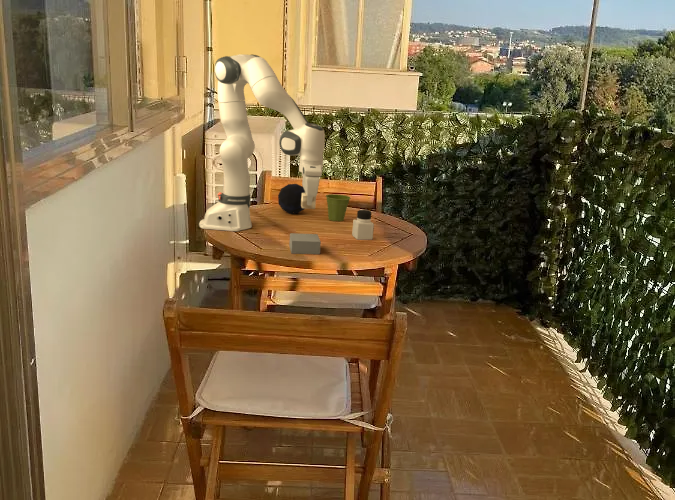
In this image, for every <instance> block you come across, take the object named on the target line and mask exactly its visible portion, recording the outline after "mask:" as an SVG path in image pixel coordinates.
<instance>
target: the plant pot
mask: <svg viewBox="0 0 675 500" xmlns="http://www.w3.org/2000/svg"><path fill="white" fill-rule="evenodd" d="M325 197H326V202H327V216H328V220H329V221H332V222H343V221H345V216H346V212H347V208H348V206H349V203H350V200H351V198H352V197H350V196H348V195H344V194H338V193H337V194H336V193H335V194H333V193H330V194H329V193H328V194H325Z"/></svg>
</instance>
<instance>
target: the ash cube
mask: <svg viewBox="0 0 675 500" xmlns="http://www.w3.org/2000/svg"><path fill="white" fill-rule="evenodd" d="M316 203H317V196H316V197H313V199H312V205H307V194H306V193H302V197H301V207H302V208H304V210H307V209H309V210H316Z"/></svg>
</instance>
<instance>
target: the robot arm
mask: <svg viewBox="0 0 675 500" xmlns="http://www.w3.org/2000/svg"><path fill="white" fill-rule="evenodd" d="M213 69H214V75H215V77H216V80H217V91H216V93H217V103H218V111H219V118H220V119H219V120H220V123H221V126H222V127H223V130H224V134H225V136H226V139H224V140H223V141H222V143H221V145H220V146H219V156H220V159H221V165H222V172H223V173H222V174H223V192H218V193H217V197H218V199H217V200H218V202H216V203H215V204H213V205H212V206H210V207H209V208H207V210H206V212H205V214H204V218H203V219H201V220H200V221H199V223H198V226H199V228H201V229H204V230H205V229H206V230H217V231H228V232H229V231H230V232H239V231H242V230H247V229H251V228H252V227H253V224H252V220H251V212H250V210H251V209H250V207H251V194H250V191H251V190H250V186H251V185H250V184H251V175H250V173H249V172H250V171H249V164H248V160H249V158H251V156H252V155H253V153H254V151H255V147H256V146H255V145H256V144H255V142H254V139H253V134H252V131H251V128H250V123H249V120H248V112H247V103H246V98H245V90H244V89H245V86H246V85H247V84H248V85H249V87H250V89H251V92H252V94H253V96H254V97H255V99H256V100H257V102H258V103H259V104H260V105H261V106H262V107H265V108H267V109H271V110H274V111H276V112H279V113H280V114H282V115H283V116H284V117H285V118H286V119H287V120H288V122H289V124H290V125H291V126H292V128H293V129H289V130H285V131H283V132H282V134H281V135H280V138H279V144H278V145H279V148H280V150H281V152H282V153H283V154H285V155H287V156H290V157H291V156H299V164H298V165H299V166H298V171H299V172H300V173H301V176H302V183H301V184H302V185H301V186H302V187H303V188H304V190H305V193H306V194H307V205H312V199H313V197H316V198H317V195H318V192H319V186H320V179H321V177H322V176H323V175H322V173H323V167H324V156H323V154H324V151H325V141H326V140H325V137H326V135H325V129H324V128H323V127H322V126H321V125H319V124H316V123H313V122H309V121H308V120H307V118H306V117H305V115H304V114H303V112H302V110H301V109H300V108H299V107H300V106H298V104H297V103H296V101H295V100H294V99H293V98H292V97H291V95H289V93H288V92H287V91H286V90H285V89H286V88H284V87H283V85H282V84H281V82H280V80H279V78H278V77H277V74H276V73H275V71H274V70H273V68H272V67H271V65H270V64H269V63H268V61H267V60H266V59H265V58H264V57H261V56H259V55H257V54H242V53H241V54H235V55H231V56H228V55H225V56H221V57H220V58H218V59H217V60H216V61H215V64H214V68H213Z"/></svg>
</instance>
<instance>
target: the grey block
mask: <svg viewBox="0 0 675 500" xmlns="http://www.w3.org/2000/svg"><path fill="white" fill-rule="evenodd" d="M288 247H289V250H290V253H291V254H294V255H295V254H299V255H301V254H302V255H321V240H320V237H319V235H318V233H317V234H316V233H295V232H294V233H293V232H292V233H289V246H288Z"/></svg>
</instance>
